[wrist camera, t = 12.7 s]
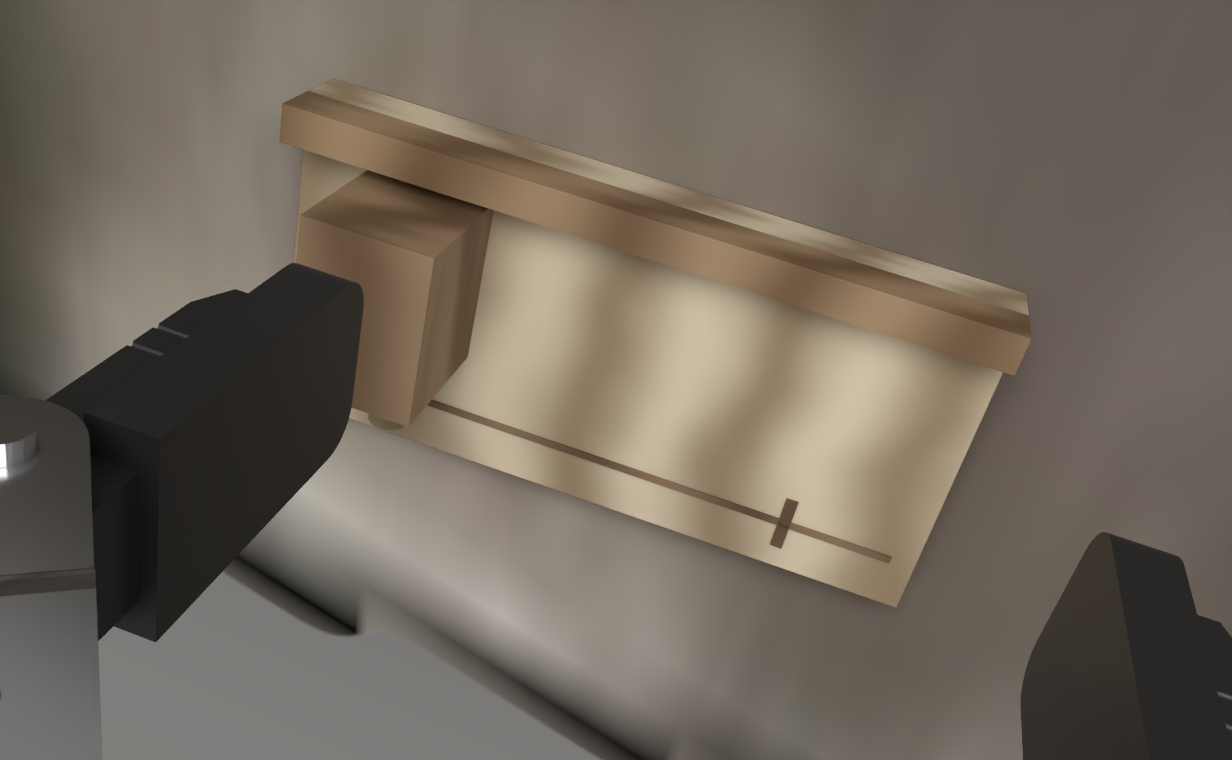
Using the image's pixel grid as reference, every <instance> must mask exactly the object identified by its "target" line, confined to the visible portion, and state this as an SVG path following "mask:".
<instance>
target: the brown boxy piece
mask: <svg viewBox="0 0 1232 760" xmlns="http://www.w3.org/2000/svg"><path fill="white" fill-rule="evenodd" d="M493 211H494V210H492V209H489V208H485V207H482V206H479V205H476V204H473V203H470V202H467V201H463V200H460V199H457V198H454V197H451V196H448V195H445V194H441V193H438V192H435V191H432V190H429V189H426V188H423V187H419V186H416V185H413V184H410V183H407V182H404V181H401V180H397V179H394V178H391V177H388V176H385V175H382V174H379V173H375V172H372V171H369V170H366V171H365V172H363V173H362V174H360V175H359V176H357V177H356V178H355V179H353V180H352V181H350V182H349V183H347V184H346V185H344V186H343V187H341V188H340V189H338V190H337V191H335V192H334V193H332V194H331V195H329V196H328V197H326V198H325V199H323V200H322V201H320V202H319V203H317V204H316V205H314V206H313V207H311V208H310V209H308V210H307V211H305V212H304V213H302V214H301V215H300V222H299V233H298V245H297V256H296V263H299V264H302V265H305V266H308V267H311V268H314V269H317V270H320V271H323V272H326V273H329V274H332V275H335V276H338V277H341V278H344V279H347V280H350V281H353V282H356V283H358V284H360V286H361V287H362V290H363V295H364V308H363V317H362V325H361V333H360V342H359V350H358V359H357V367H356V376H355V384H354V392H353V401H352V407H351V408H354V409H357V410H360V411H363V412H366V413H369V416H368V419H369V421H370V423H371V424H373V425H374V426H376V427H378V428H381V429H385V430H396V429H400V428H402V427H404V426H407V427H409V426H410V425H411V424H412V422H413V421H414V420H415V419H416V418H417V416H418V415H419V414H420V413H421V412H422V411H423V409H424V408H425V407H426V406H427V405H428V403H429V402H430V401H431V400H432V399H433V398H434V396H435V395H436V394H437V393H438V392H439V390H440V389H441V388H442V387H443V386H444V385H445V383H446V382H447V381H448V380H449V379H450V377H451V376H452V375H453V374H454V373H455V372H456V370H457V369H458V368H459V367H460V366H461V364H462V363H463V362H464V361H465V360H466V359H467V357H468V353H469V347H470V341H471V336H472V330H473V324H474V319H475V313H476V307H477V302H478V296H479V290H480V285H481V279H482V273H483V268H484V262H485V257H486V251H487V245H488V240H489V234H490V228H491V223H492V217H493Z"/></svg>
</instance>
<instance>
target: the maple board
mask: <svg viewBox="0 0 1232 760" xmlns="http://www.w3.org/2000/svg"><path fill="white" fill-rule="evenodd" d="M280 142H281V143H284V144H288V145H291V146H294V147H297V148H300V149H303V150H304V151H303V162H302V174H301V185H300V197H299V208H298V219H297V231H296V242H295V254H294V263H296V256H297V245H298V233H299V222H300V215H301V214H302V213H304V212H305V211H307V210H308V209H310V208H311V207H313V206H314V205H316V204H317V203H319V202H320V201H322V200H323V199H325V198H326V197H328V196H329V195H331V194H332V193H334V192H335V191H337V190H338V189H340V188H341V187H343V186H344V185H346V184H347V183H349V182H350V181H352V180H353V179H355V178H356V177H357V176H359V175H360V174H362V173H363V172H365V171H366V170H369V171H372V172H375V173H379V174H382V175H385V176H388V177H391V178H394V179H397V180H401V181H404V182H407V183H410V184H413V185H416V186H419V187H423V188H426V189H429V190H432V191H435V192H438V193H441V194H445V195H448V196H451V197H454V198H457V199H460V200H463V201H467V202H470V203H473V204H476V205H479V206H482V207H485V208H489V209H492V210H494V211H493V217H492V223H491V228H490V234H489V240H488V245H487V251H486V257H485V262H484V268H483V273H482V279H481V285H480V290H479V296H478V302H477V307H476V313H475V319H474V324H473V330H472V336H471V341H470V347H469V353H468V357H467V359H466V360H465V361H464V362H463V363H462V364H461V366H460V367H459V368H458V369H457V370H456V372H455V373H454V374H453V375H452V376H451V377H450V379H449V380H448V381H447V382H446V383H445V385H444V386H443V387H442V388H441V389H440V390H439V392H438V393H437V394H436V395H435V396H434V398H433V399H432V400H431V401H430V402H429V403H428V405H427V406H426V407H425V408H424V409H423V411H422V412H421V413H420V414H419V415H418V416H417V418H416V419H415V420H414V421H413V422H412V424H411V425H410V426H409V427H407V426H404V427H402V428H400V429H396V430H385V429H382V430H385V431H387V432H390V433H393V434H396V435H399V436H402V437H405V438H408V439H411V440H413V441H416V442H419V443H422V444H425V445H428V446H431V447H434V448H437V449H439V450H442V451H445V452H448V453H451V454H454V455H457V456H460V457H463V458H465V459H468V460H471V461H474V462H477V463H480V464H483V465H486V466H489V467H491V468H494V469H497V470H500V471H503V472H506V473H509V474H512V475H515V476H517V477H520V478H523V479H526V480H529V481H532V482H535V483H538V484H540V485H543V486H546V487H549V488H552V489H555V490H558V491H561V492H564V493H566V494H569V495H572V496H575V497H578V498H581V499H584V500H587V501H590V502H592V503H595V504H598V505H601V506H604V507H607V508H610V509H613V510H616V511H618V512H621V513H624V514H627V515H630V516H633V517H636V518H639V519H642V520H644V521H647V522H650V523H653V524H656V525H659V526H662V527H665V528H667V529H670V530H673V531H676V532H679V533H682V534H685V535H688V536H691V537H693V538H696V539H699V540H702V541H705V542H708V543H711V544H714V545H717V546H719V547H722V548H725V549H728V550H731V551H734V552H737V553H740V554H743V555H745V556H748V557H751V558H754V559H757V560H760V561H763V562H766V563H769V564H771V565H774V566H777V567H780V568H783V569H786V570H789V571H792V572H795V573H797V574H800V575H803V576H806V577H809V578H812V579H815V580H818V581H820V582H823V583H826V584H829V585H832V586H835V587H838V588H841V589H844V590H846V591H849V592H852V593H855V594H858V595H861V596H864V597H867V598H870V599H872V600H875V601H878V602H881V603H884V604H887V605H890V606H893V607H897V605H898V603H899V601H900V598H901V596H902V594H903V592H904V590H905V587H906V585H907V583H908V581H909V579H910V576H911V574H912V572H913V570H914V567H915V565H916V563H917V561H918V559H919V556H920V554H921V552H922V550H923V548H924V545H925V543H926V541H927V539H928V537H929V534H930V532H931V530H932V528H933V526H934V523H935V521H936V519H937V517H938V515H939V512H940V510H941V508H942V506H943V504H944V501H945V499H946V497H947V495H948V493H949V490H950V488H951V486H952V484H953V481H954V479H955V477H956V475H957V473H958V470H959V468H960V466H961V464H962V462H963V459H964V457H965V455H966V453H967V451H968V448H969V446H970V444H971V442H972V440H973V437H974V435H975V433H976V431H977V429H978V426H979V424H980V422H981V420H982V418H983V415H984V413H985V411H986V409H987V407H988V404H989V402H990V400H991V398H992V395H993V393H994V391H995V389H996V387H997V384H998V382H999V380H1000V378H1001V376H1002V373H1003V372H1004V373H1007V374H1010V375H1013V376H1015V374H1016V372H1017V369H1018V367H1019V365H1020V363H1021V361H1022V359H1023V356H1024V354H1025V352H1026V350H1027V348H1028V346H1029V343H1030V341H1031V330H1030V321H1029V312H1028V304H1027V295H1026V293H1023V292H1019V291H1016V290H1013V289H1010V288H1006V287H1003V286H1000V285H997V284H994V283H990V282H987V281H984V280H981V279H977V278H974V277H971V276H968V275H964V274H961V273H958V272H955V271H952V270H948V269H945V268H942V267H939V266H935V265H932V264H929V263H926V262H922V261H919V260H916V259H913V258H910V257H906V256H903V255H900V254H897V253H893V252H890V251H887V250H884V249H880V248H877V247H874V246H871V245H868V244H864V243H861V242H858V241H855V240H851V239H848V238H845V237H842V236H838V235H835V234H832V233H829V232H826V231H822V230H819V229H816V228H813V227H809V226H806V225H803V224H800V223H797V222H793V221H790V220H787V219H784V218H780V217H777V216H774V215H771V214H767V213H764V212H761V211H758V210H755V209H751V208H748V207H745V206H742V205H738V204H735V203H732V202H729V201H725V200H722V199H719V198H716V197H713V196H709V195H706V194H703V193H700V192H696V191H693V190H690V189H687V188H683V187H680V186H677V185H674V184H671V183H667V182H664V181H661V180H658V179H654V178H651V177H648V176H645V175H641V174H638V173H635V172H632V171H629V170H625V169H622V168H619V167H616V166H612V165H609V164H606V163H603V162H599V161H596V160H593V159H590V158H587V157H583V156H580V155H577V154H574V153H570V152H567V151H564V150H561V149H557V148H554V147H551V146H548V145H545V144H541V143H538V142H535V141H532V140H528V139H525V138H522V137H519V136H516V135H512V134H509V133H506V132H503V131H499V130H496V129H493V128H490V127H486V126H483V125H480V124H477V123H474V122H470V121H467V120H464V119H461V118H457V117H454V116H451V115H448V114H444V113H441V112H438V111H435V110H432V109H428V108H425V107H422V106H419V105H415V104H412V103H409V102H406V101H402V100H399V99H396V98H393V97H390V96H386V95H383V94H380V93H377V92H373V91H370V90H367V89H364V88H360V87H357V86H354V85H351V84H348V83H344V82H341V81H338V80H335V79H332V80H330V81H328V82H326V83H324V84H322V85H320V86H318V87H316V88H314V89H311V90H309V91H307V92H305V93H303V94H301V95H299V96H297V97H295V98H293V99H291V100H289V101H287V102H285V103H283V105H282V118H281V131H280ZM368 416H369V413H366V412H363V411H360V410H357V409H354V408H351V412H350V416H349V418H350V419H353V420H356V421H359V422H362V423H364V424H367V425H370V426H373V427H376V426H374V425H373V424H371V423H370V421H369V419H368ZM376 428H378V427H376ZM379 429H381V428H379Z"/></svg>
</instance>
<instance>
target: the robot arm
mask: <svg viewBox="0 0 1232 760" xmlns="http://www.w3.org/2000/svg"><path fill="white" fill-rule="evenodd" d="M363 308H364V295H363V290H362V287H361V286H360V284H358V283H356V282H353V281H350V280H347V279H344V278H341V277H338V276H335V275H332V274H329V273H326V272H323V271H320V270H317V269H314V268H311V267H308V266H305V265H302V264H299V263H292V264H289V265H287V266H286V267H284V268H283V269H282V270H280V271H279V272H277V273H276V274H275V275H273V276H272V277H270V278H269V279H268V280H266V281H265V282H264V283H262V284H261V285H259V286H258V287H257V288H255V289H254V290H252V291H251V292H250V293H245V292H242V291H239V290H236V289H235V290H231V291H228V292H224V293H221V294H217V295H214V296H210V297H207V298H203V299H200V300H196V301H193V302H190V303H189V304H187V305H186V306H184V307H183V308H181V309H180V310H178V311H177V312H175V313H174V314H172V315H171V316H169V317H168V318H166V319H165V320H163V321H162V322H161V323H159V327H158V328H157V329H156V328H152V329H150V330H149V331H147V332H146V333H144V334H143V335H141V336H140V337H138V338H137V339H135V340H134V341H133V345H132V346H131V347H130V346H128V345H127V346H125V347H124V348H122V349H121V350H119V351H118V352H116V353H115V354H113V355H112V356H110V357H109V358H107V359H106V360H104V361H103V362H102V363H100V364H99V365H97V366H96V367H94V368H93V369H91V370H90V371H88V372H87V373H85V374H84V375H82V376H81V377H79V378H78V379H76V380H75V381H73V382H72V383H71V384H69V385H68V386H66V387H65V388H63V389H62V390H60V391H59V392H57V393H56V394H54V395H53V396H51V397H50V398H48V399H47V400H45V401H44V400H40V399H35V398H27V397H17V396H0V760H102V737H101V709H100V682H99V653H98V641H99V640H100V639H101V638H102V637H103V636H104V635H105V634H106V633H107V632H108V631H109V630H110V629H111V628H112V627H113V626H115V627H117V628H120V629H122V630H125V631H128V632H130V633H133V634H135V635H138V636H141V637H143V638H146V639H149V640H151V641H154V642H157V640H158V639H159V638H160V637H161V636H162V635H163V634H164V633H165V632H166V631H167V630H168V629H169V628H170V627H171V626H172V624H173V623H174V622H175V621H176V620H177V619H178V618H179V617H180V616H181V615H182V614H183V613H184V612H185V611H186V610H187V609H188V608H189V606H190V605H191V604H192V603H193V602H194V601H195V600H196V599H197V598H198V597H199V596H200V595H201V594H202V592H203V591H204V590H205V589H206V588H207V587H208V586H209V585H210V584H211V583H212V582H213V581H214V580H215V579H216V578H217V576H219V575H220V573H221V572H222V571H223V570H224V569H225V568H226V567H227V566H228V565H229V564H230V563H231V562H232V561H233V560H234V559H235V558H236V556H237V555H238V554H239V553H240V552H241V551H242V550H243V549H244V548H245V547H246V546H247V545H248V544H249V543H250V542H251V540H252V539H253V538H254V537H255V536H256V535H257V534H258V533H259V532H260V531H261V530H262V529H263V528H264V527H265V526H266V525H267V523H268V522H269V521H270V520H271V519H272V518H273V517H274V516H275V515H276V514H277V513H278V512H279V511H280V510H281V509H282V508H283V506H284V505H285V504H286V503H287V502H288V501H289V500H290V499H291V498H292V497H293V496H294V495H295V494H296V493H297V492H298V490H299V489H300V488H301V487H302V486H303V485H304V484H305V483H306V482H307V481H308V480H309V479H310V478H311V477H312V476H313V475H314V473H315V472H316V471H317V470H318V469H319V468H320V467H321V466H322V465H323V464H324V463H325V462H326V461H327V460H328V458H329V457H330V456H331V455H332V453H333V452H334V450H335V449H336V447H337V445H338V444H339V442H340V440H341V438H342V436H343V433H344V431H345V428H346V426H347V423H348V419H349V416H350V412H351V407H352V401H353V392H354V384H355V376H356V367H357V359H358V350H359V342H360V333H361V325H362V317H363ZM1021 723H1022V744H1023V760H1232V637H1231V636H1230V635H1229V633H1228V632H1227V631H1226V630H1225V628H1224V627H1223V626H1222V624H1221V623H1220V622H1217V621H1214V620H1211V619H1208V618H1205V617H1202V616H1199V615H1197V613H1196V609H1195V605H1194V601H1193V597H1192V594H1191V590H1190V586H1189V582H1188V578H1187V575H1186V571H1185V567H1184V564H1183V561H1182V560H1181V558H1180V557H1178V556H1176V555H1173V554H1170V553H1167V552H1163V551H1160V550H1157V549H1154V548H1151V547H1148V546H1145V545H1142V544H1139V543H1136V542H1133V541H1130V540H1127V539H1124V538H1121V537H1118V536H1115V535H1112V534H1109V533H1106V532H1102V533H1100V534H1098V535H1097V536H1096V537H1095V538H1094V539H1093V540H1092V542H1091V543H1090V545H1089V546H1088V548H1087V549H1086V551H1085V553H1084V555H1083V557H1082V558H1081V560H1080V562H1079V564H1078V566H1077V568H1076V570H1075V571H1074V573H1073V575H1072V577H1071V579H1070V581H1069V583H1068V584H1067V586H1066V588H1065V590H1064V592H1063V594H1062V596H1061V597H1060V599H1059V601H1058V603H1057V605H1056V607H1055V609H1054V610H1053V612H1052V614H1051V616H1050V618H1049V620H1048V622H1047V623H1046V625H1045V627H1044V629H1043V631H1042V633H1041V635H1040V636H1039V638H1038V640H1037V642H1036V644H1035V646H1034V649H1033V651H1032V653H1031V656H1030V659H1029V661H1028V665H1027V668H1026V672H1025V676H1024V680H1023V685H1022V692H1021Z"/></svg>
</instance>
